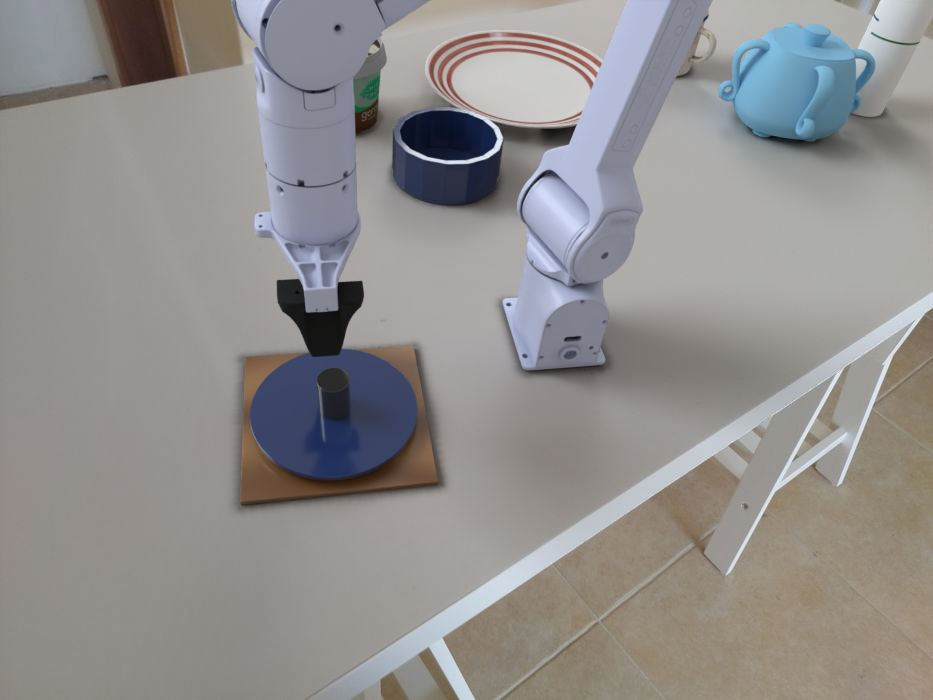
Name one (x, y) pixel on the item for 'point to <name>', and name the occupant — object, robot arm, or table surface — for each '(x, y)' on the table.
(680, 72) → the teacup with lid
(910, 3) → the cylindrical container
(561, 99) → the dinner plate
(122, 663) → the table surface
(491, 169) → the tin
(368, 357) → the tin lid
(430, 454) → the board
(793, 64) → the decorative pot
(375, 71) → the food container
